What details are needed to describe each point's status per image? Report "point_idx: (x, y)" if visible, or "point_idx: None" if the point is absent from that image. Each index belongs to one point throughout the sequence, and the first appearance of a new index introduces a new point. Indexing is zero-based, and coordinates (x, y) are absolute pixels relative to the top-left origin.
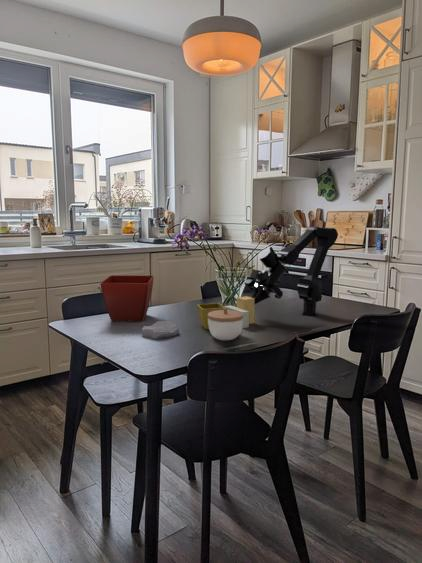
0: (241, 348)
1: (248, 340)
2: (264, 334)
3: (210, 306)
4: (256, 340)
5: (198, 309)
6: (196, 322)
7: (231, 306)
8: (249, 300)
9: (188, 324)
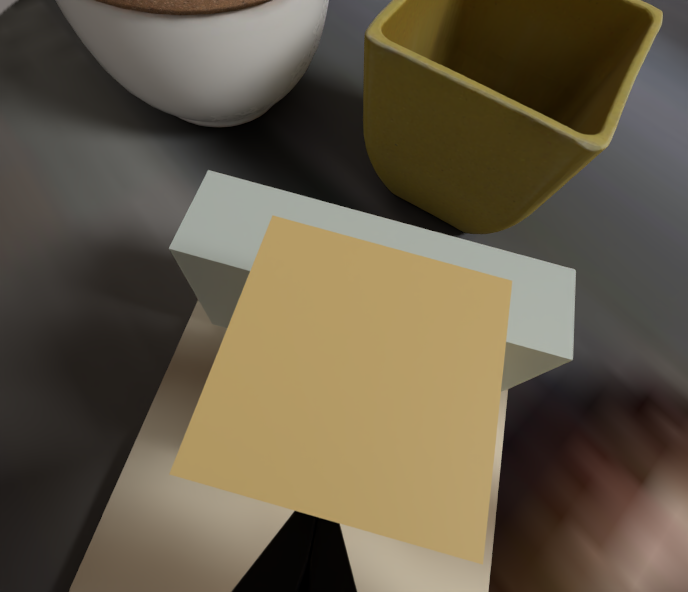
0: (42, 14)
1: (72, 126)
2: (22, 297)
3: (599, 110)
4: (20, 152)
5: (598, 36)
6: (639, 232)
7: (517, 317)
8: (232, 341)
9: (621, 168)
